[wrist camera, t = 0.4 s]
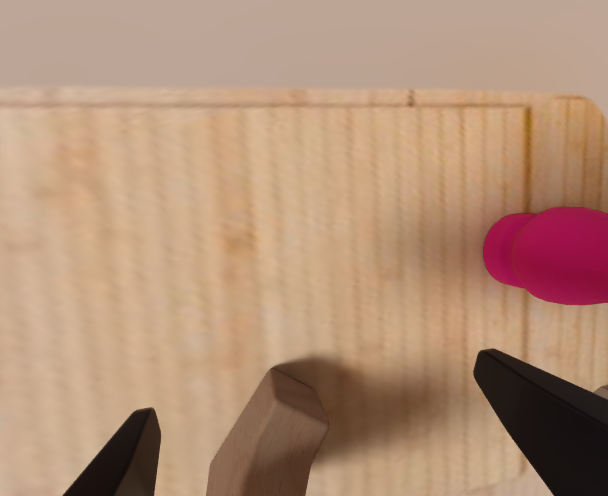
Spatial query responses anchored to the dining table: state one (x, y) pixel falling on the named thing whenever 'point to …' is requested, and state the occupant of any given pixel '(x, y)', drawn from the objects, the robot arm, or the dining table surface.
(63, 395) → the dining table surface
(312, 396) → the wooden block
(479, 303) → the dining table surface
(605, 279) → the pepper mill
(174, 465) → the dining table surface
